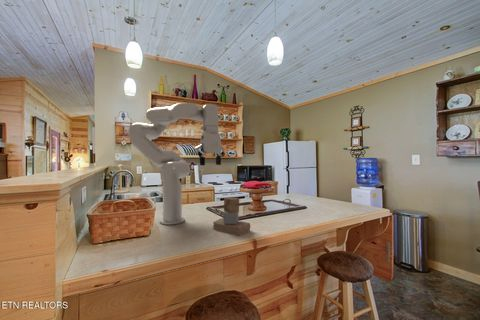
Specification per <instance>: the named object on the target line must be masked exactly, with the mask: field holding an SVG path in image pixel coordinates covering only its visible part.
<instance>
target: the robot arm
mask: <svg viewBox="0 0 480 320" xmlns="http://www.w3.org/2000/svg"><path fill="white" fill-rule="evenodd" d="M145 117H146V120H147V122H149V123H151V124H148V123H144V122H135V123H133V124H131V125H130V126H129V127H128V137H129V141H130V142H131V144H132V145H133V146H134V147H135V148H136V149H137V150H138V151H139V152H140V153H141V154H142V155H143V156H144V157H145V158H146V159H148V161H149V162H150V163H151V164H153V165H154V167H161V168H160V175H161V181H162V212H161V213H162V218H160V219H159V223H160V224H161V225H166V226H167V225H172V226H173V225H178V224H182V223H184V221H185V220H186V218H185V217H184V216H183V215H182V213H183V212H182V210H183V208H182V207H183V201H182V200H183V199H182V198H183V197H182V196H183V194H182V193H183V192H182V189H183V187H182V183H181V180H180V179H185V178H187V177H188V176H189V175H190V173H191V168H190V167H191V166H190V165H189V163H188V162H187V161H186V160H185V159H184V158H183V157H182V156H181V155H179V154H178V153H177V152H176V151H174V150H172V149H167V148H166V149H165V148H161V147H159V146H158V145H157V143H155V142H154V141H152V140H156V139H158V138H159V137H160V136H161V135H162V134H163V133H164V131H165V130H166V129H167V128H168V127H169V126H170V124H176V123H177V122H178V120H182V119H183V120H184V119H187V120H188V119H189V120H193V121H196V122H202V126H201V128H200V129H201V130H202V132H201V134H200V141H199V142H200V144H199V145H197V146H195V148H194V151H195V152H196V155H198V158H199V165H200V166H205V165H206V157H205V155H206V154H215V156H216V157H215V165H216V166H220V165H221V164H222V156H224V152H225V147H223V145H222V139H221V138H222V137H221V133H220V132H219V106H218V105H217V104H213V103H212V104H211V103H207V104H204V105H203V106H201V105H198V104H197V103H193V102H181V103H176V104H173V105H171V106H161V107H160V106H159V107H151V108H149V109H148V110H147V111H146V112H145Z"/></svg>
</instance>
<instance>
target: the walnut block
mask: <svg viewBox="0 0 480 320" xmlns="http://www.w3.org/2000/svg"><path fill="white" fill-rule="evenodd" d="M225 211H226V212H229V213H234V212H240V198H238V197H234V196H230V197H224V198H223V212H225Z"/></svg>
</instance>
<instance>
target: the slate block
mask: <svg viewBox="0 0 480 320" xmlns="http://www.w3.org/2000/svg"><path fill="white" fill-rule="evenodd" d="M239 212H240V211H239ZM239 212H234V213H229V212H226V211H223V217H222V218H223V223H225V224H237V222H238V221H239V217H240V216H239Z"/></svg>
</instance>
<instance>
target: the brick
mask: <svg viewBox="0 0 480 320" xmlns="http://www.w3.org/2000/svg"><path fill="white" fill-rule="evenodd" d="M212 227H213V228H212V229H213V230H215V231H219V232H224V233H227V234H232V235H235V236H239V237H240V236H244V235H246V234H247V233H249V232H250V231H251V223H250V222H248V221H243V220H241V221H240V220H238V222H237V224H225V223H223V217H222V218H219V219H217V220H214V221H213V225H212Z"/></svg>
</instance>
